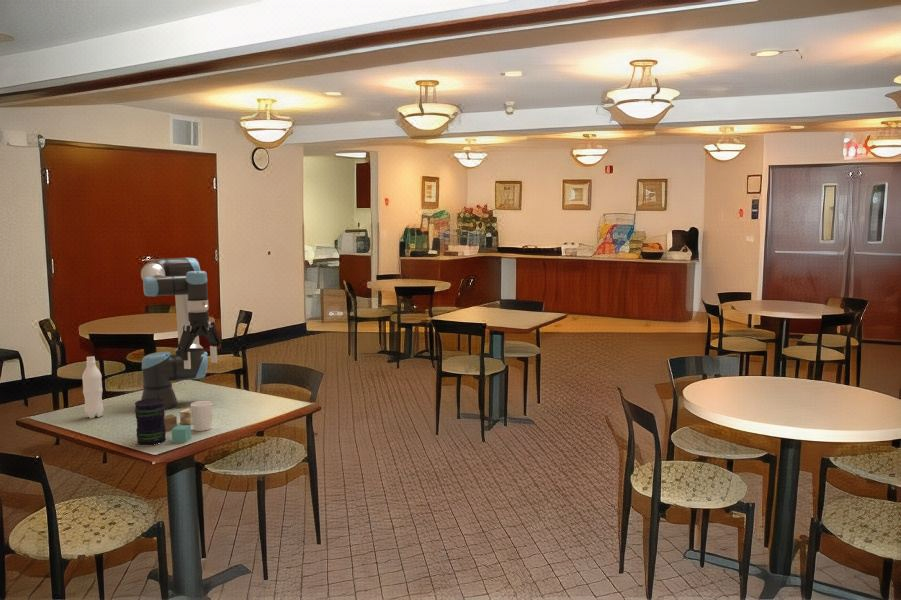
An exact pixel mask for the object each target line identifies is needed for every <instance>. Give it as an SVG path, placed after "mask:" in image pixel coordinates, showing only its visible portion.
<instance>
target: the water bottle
mask: <svg viewBox="0 0 901 600" xmlns="http://www.w3.org/2000/svg"><path fill="white" fill-rule="evenodd" d="M85 364H86V365H85V366H86V367H85V369H84V371H83V373H82V375H81V379H82V394H83V396H84V407H83V408H84V409H83V410H84V415H85V417H86V418H87V417H89V419H95V417H97V418H101V417H102V416H103V414H104V410H105V409H104V408H105V407H104V404H103V398H102V397H103V380H102V377H103V375H102V373H101V371H100V369H99V368H98V367H97V365H96V358H95V355H92V356H86V362H85ZM100 416H101V417H100Z"/></svg>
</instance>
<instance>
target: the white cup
mask: <svg viewBox="0 0 901 600" xmlns="http://www.w3.org/2000/svg"><path fill="white" fill-rule="evenodd" d="M190 409H191V415H192V422H193V424H192V429H193V431H195V432H204V431H205V430H206V431H209V430H211V429H212V427H213V425H212V423H213V422H212V421H213V402H212V401H210V400H209V401H208V400H201V401H193V402H192V403H190Z"/></svg>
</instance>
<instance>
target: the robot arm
mask: <svg viewBox="0 0 901 600" xmlns="http://www.w3.org/2000/svg"><path fill="white" fill-rule="evenodd" d="M140 277H141V280H142V282H143V283H142V285H143V287H142V288H143V295H144V296H146V297H163V296H175V298H174V299H175V310H176V311H175V312H176V313H175V314H176V324H177V325H176V326H177V328H176V329H177V340H178V346H177V348H176V349H175V350H174V351H175V353H174V354H172V353H171V352H170V351H167V350H166V351H164V350H163V351H157V352H156V351H155V352H152V353H149V354H146V355H145V356H144V357H142V360H141V370H142V389H143V390H142V395H141V398H140V400H144V399H152V398H158V399H163V400H164V408H165V410H169V409H173V408H175V407H177V406H178V398H177V397H176V394H175V390H174V389H173V382H178V381H179V382H180V381H189V380H198V379H203V378H205V377H206V375H207V371H208V363H209V362H208V357H210V364H211V363H212V364H213V363H214V364H218V352H219V351H218V347H219V346H220V344H222V340H221V336H220V335H219V333H218V331H217V329H216V327H215V326H216V325H215V321H210V312H209V311H208V310H209V298H208V297H209V295H208V294H209V293H208V273H207V271H205V270H201V267H200V262H199V261H198V259H196V258H194V257H174V258H173V257H172V258H169V257H167V258H164V257H163V258H156V259H154V260H153V259H152V260H151V261H148V262H147V263H145V264H144V265H143V266H142V268H141V270H140ZM202 335H203V336H204V337H205V338H206V340H207V341H208V342H209V345H210V346H209V352H210V353H209V356H208V352H207V351H204V347H203V346H202V345H201V344H200V337H199V336H202Z"/></svg>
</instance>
